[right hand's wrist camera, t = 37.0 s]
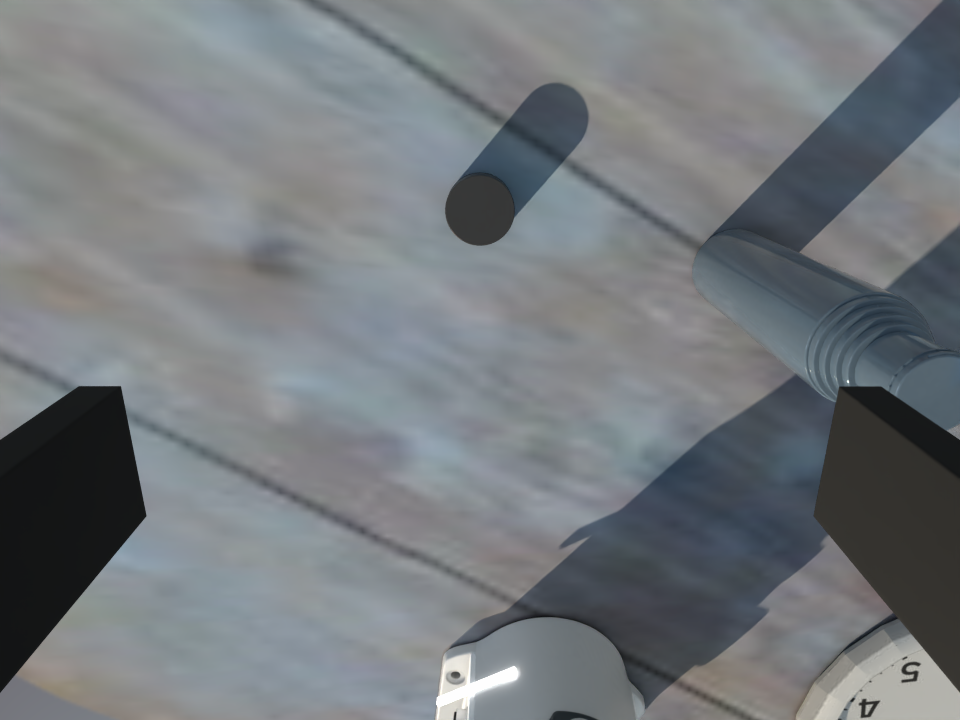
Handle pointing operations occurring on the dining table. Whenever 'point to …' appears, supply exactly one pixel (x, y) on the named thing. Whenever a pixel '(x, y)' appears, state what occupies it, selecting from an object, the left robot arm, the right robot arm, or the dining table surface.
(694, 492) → the dining table surface
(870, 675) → the wall clock
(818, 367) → the bottle
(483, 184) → the cap
